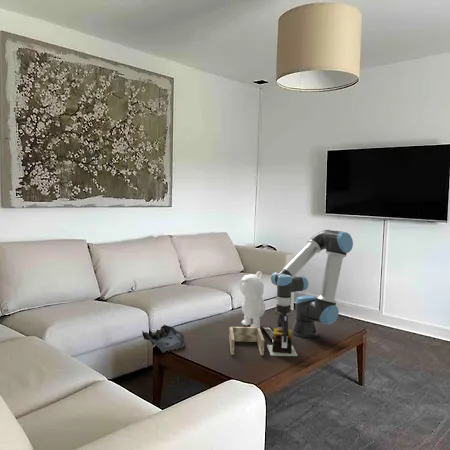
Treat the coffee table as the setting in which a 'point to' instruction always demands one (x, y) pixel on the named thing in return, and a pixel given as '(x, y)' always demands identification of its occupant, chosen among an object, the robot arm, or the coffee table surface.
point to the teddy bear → (252, 298)
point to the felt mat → (293, 353)
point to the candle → (278, 341)
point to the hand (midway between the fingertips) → (281, 343)
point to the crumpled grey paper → (166, 338)
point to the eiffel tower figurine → (278, 313)
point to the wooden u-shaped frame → (246, 337)
